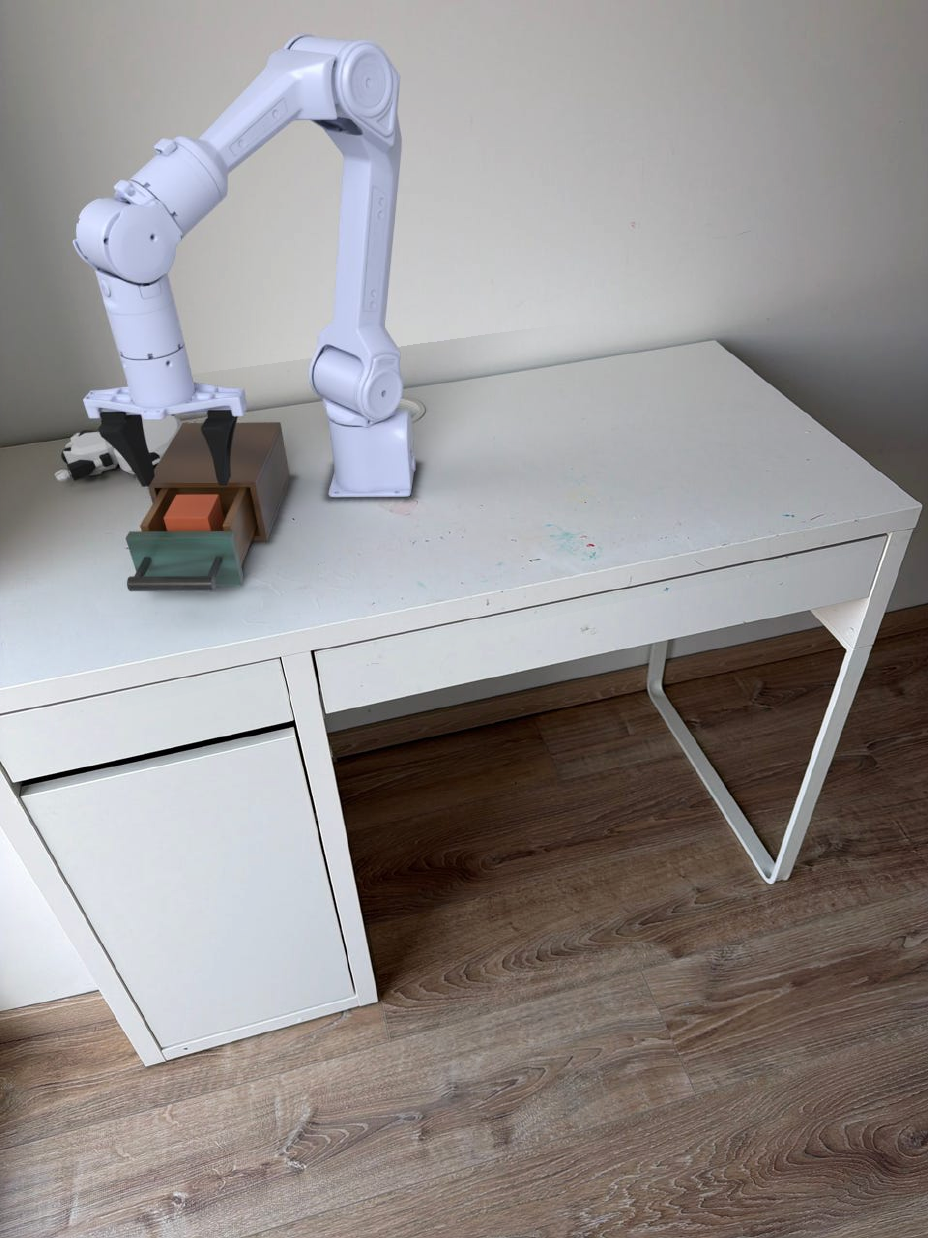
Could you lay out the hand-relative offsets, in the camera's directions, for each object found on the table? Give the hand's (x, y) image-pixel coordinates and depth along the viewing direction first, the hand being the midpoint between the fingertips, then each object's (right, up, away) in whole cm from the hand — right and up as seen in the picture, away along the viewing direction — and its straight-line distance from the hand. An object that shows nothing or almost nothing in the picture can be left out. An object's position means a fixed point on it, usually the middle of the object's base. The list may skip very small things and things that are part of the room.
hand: (186, 481), depth 87 cm
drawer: (0, -8, +4) cm, 9 cm away
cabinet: (+1, -1, +14) cm, 14 cm away
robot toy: (-14, +5, +22) cm, 27 cm away
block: (0, -6, +5) cm, 8 cm away
